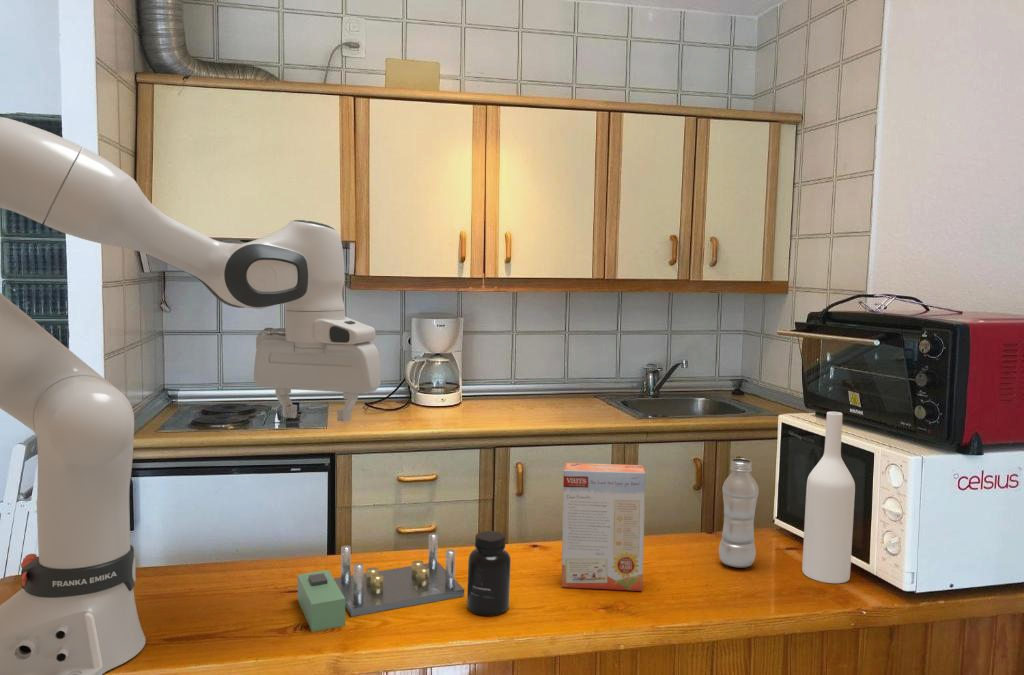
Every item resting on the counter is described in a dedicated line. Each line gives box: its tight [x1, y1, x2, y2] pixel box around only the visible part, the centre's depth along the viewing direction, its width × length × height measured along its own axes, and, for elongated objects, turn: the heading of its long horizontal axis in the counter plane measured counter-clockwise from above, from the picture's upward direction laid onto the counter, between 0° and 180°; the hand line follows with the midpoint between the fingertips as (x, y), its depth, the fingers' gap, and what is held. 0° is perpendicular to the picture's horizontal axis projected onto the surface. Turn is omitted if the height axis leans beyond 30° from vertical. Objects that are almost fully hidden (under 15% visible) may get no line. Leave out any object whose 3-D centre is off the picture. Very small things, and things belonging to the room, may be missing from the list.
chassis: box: [333, 532, 465, 617], centre depth 127 cm, size 19×13×7 cm
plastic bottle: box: [718, 457, 760, 569], centre depth 140 cm, size 6×7×20 cm
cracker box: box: [561, 462, 646, 592], centre depth 131 cm, size 14×6×21 cm, turn 84°
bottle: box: [801, 411, 856, 584], centre depth 136 cm, size 8×8×30 cm
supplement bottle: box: [466, 530, 512, 616], centre depth 121 cm, size 7×7×12 cm
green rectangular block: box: [297, 569, 346, 633], centre depth 119 cm, size 12×5×5 cm, turn 26°
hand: (316, 418), depth 115 cm, fingers open, 8 cm apart
